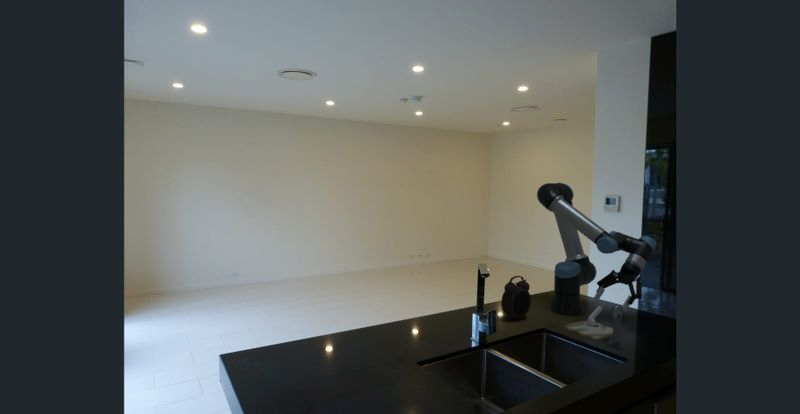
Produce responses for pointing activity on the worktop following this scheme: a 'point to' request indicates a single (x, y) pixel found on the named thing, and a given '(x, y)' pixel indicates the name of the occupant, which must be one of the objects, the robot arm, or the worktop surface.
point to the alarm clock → (516, 298)
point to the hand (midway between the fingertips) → (609, 304)
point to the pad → (595, 336)
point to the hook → (593, 321)
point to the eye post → (617, 328)
